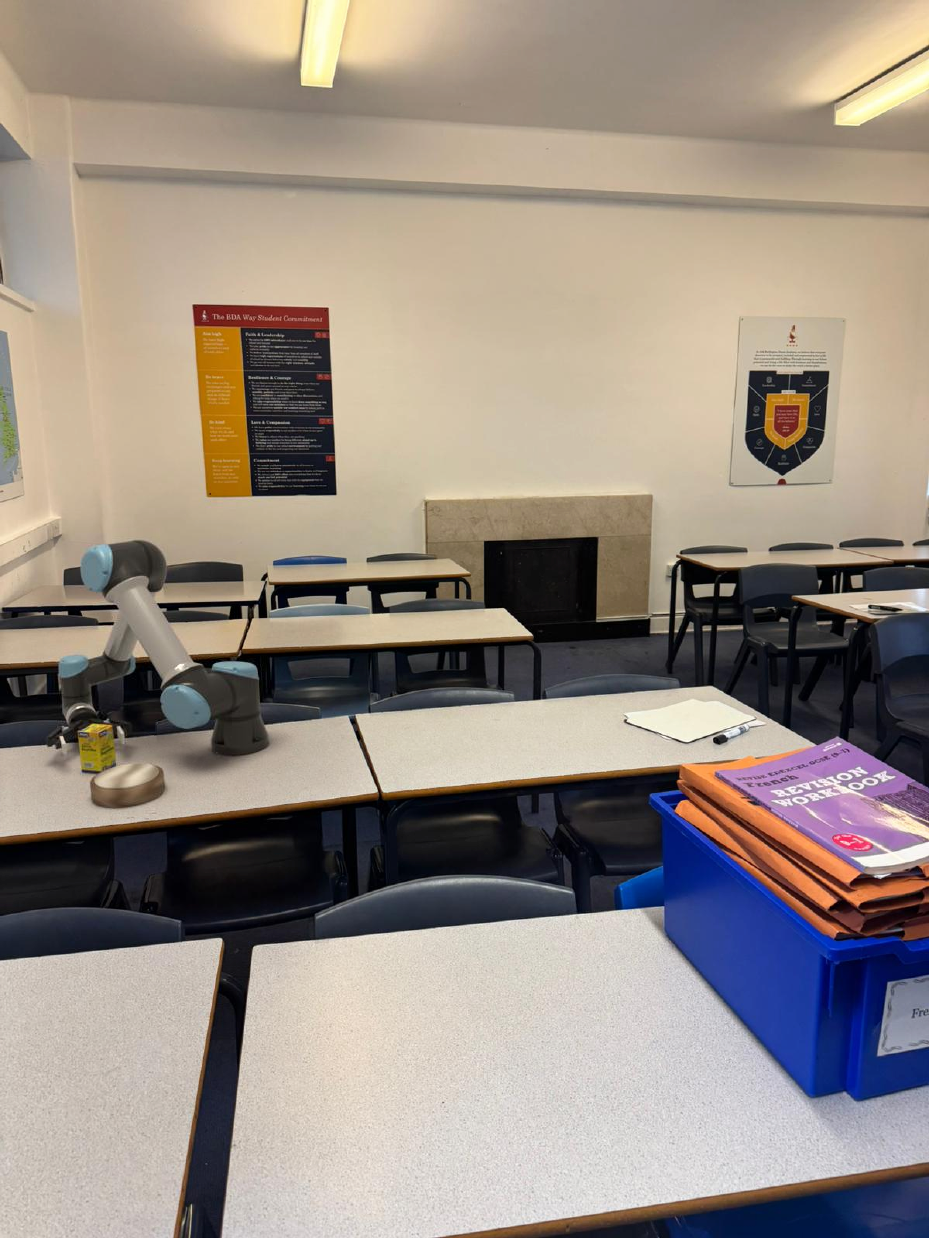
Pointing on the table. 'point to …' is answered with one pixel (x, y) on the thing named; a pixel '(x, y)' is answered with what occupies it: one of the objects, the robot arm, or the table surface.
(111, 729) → the supplement box
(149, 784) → the podium
